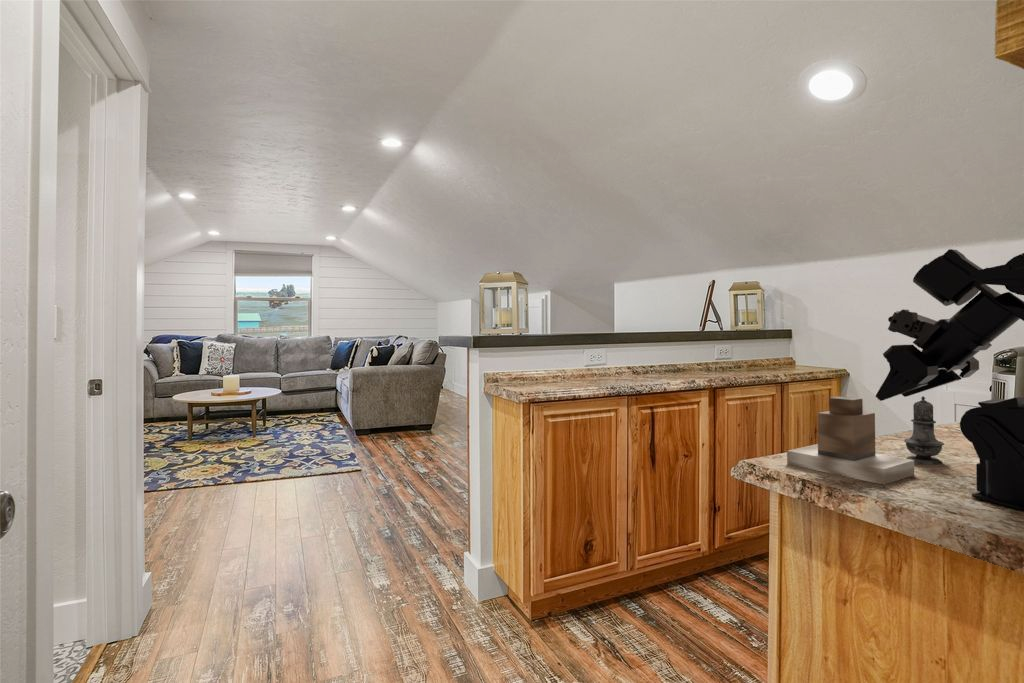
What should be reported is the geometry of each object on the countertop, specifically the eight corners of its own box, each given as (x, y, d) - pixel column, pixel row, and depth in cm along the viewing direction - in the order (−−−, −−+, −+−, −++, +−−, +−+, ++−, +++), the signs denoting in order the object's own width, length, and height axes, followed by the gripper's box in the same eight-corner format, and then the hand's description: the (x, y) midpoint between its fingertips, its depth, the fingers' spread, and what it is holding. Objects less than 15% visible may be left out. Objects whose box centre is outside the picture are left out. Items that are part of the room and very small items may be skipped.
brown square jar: (875, 455, 92) (874, 398, 91) (854, 461, 88) (853, 401, 88) (839, 449, 97) (838, 395, 97) (818, 454, 93) (817, 398, 93)
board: (914, 474, 88) (914, 459, 88) (884, 484, 83) (884, 468, 83) (818, 456, 102) (817, 443, 102) (787, 464, 97) (787, 450, 97)
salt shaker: (945, 466, 93) (944, 398, 93) (903, 462, 96) (903, 397, 96) (943, 459, 97) (943, 395, 97) (904, 455, 101) (903, 393, 101)
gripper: (952, 292, 86) (880, 358, 96) (896, 290, 77) (822, 363, 86) (1018, 340, 79) (932, 406, 89) (965, 343, 70) (876, 416, 80)
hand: (890, 396), depth 86 cm, fingers open, 8 cm apart
